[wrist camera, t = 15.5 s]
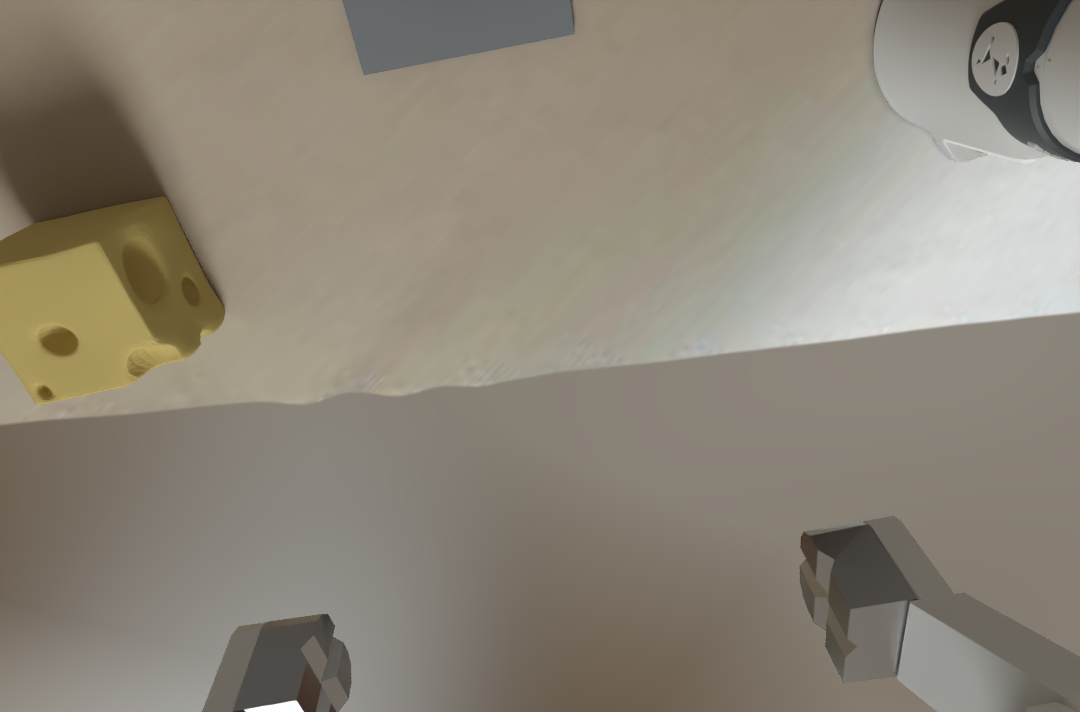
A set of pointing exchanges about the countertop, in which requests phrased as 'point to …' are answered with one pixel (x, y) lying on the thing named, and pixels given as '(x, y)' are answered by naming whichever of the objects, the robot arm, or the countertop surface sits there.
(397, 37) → the mat
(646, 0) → the countertop surface
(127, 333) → the cheese
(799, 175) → the countertop surface
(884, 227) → the countertop surface
